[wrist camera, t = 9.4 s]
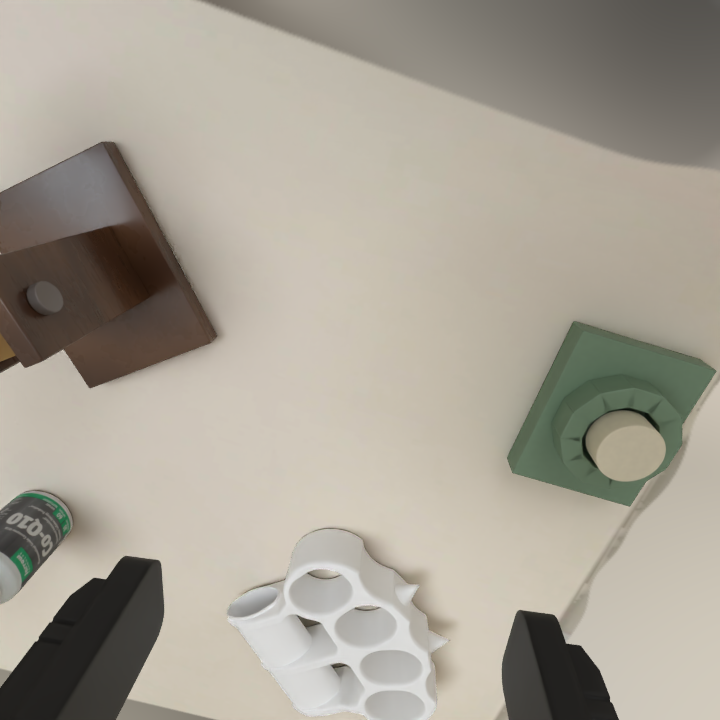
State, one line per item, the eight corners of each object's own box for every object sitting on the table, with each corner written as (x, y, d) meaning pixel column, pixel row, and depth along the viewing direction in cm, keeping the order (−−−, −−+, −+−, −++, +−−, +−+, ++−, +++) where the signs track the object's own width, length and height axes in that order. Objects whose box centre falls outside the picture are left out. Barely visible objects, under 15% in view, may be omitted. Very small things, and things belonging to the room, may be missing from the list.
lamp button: (602, 401, 28) (615, 417, 26) (663, 420, 28) (679, 436, 26) (574, 454, 29) (584, 472, 28) (631, 470, 29) (645, 489, 28)
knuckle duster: (213, 563, 39) (386, 506, 35) (318, 707, 44) (475, 670, 41) (197, 599, 35) (385, 540, 32) (312, 749, 41) (481, 712, 38)
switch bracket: (-14, 204, 29) (-229, 234, 19) (114, 141, 27) (-50, 137, 17) (99, 380, 33) (-29, 480, 23) (217, 336, 31) (133, 423, 21)
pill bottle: (87, 526, 38) (7, 622, 30) (41, 545, 39) (-47, 643, 31) (46, 479, 37) (-49, 568, 29) (0, 500, 38) (-104, 591, 30)
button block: (573, 320, 29) (595, 341, 26) (700, 359, 30) (737, 384, 26) (506, 457, 33) (518, 491, 30) (619, 490, 33) (642, 526, 30)
